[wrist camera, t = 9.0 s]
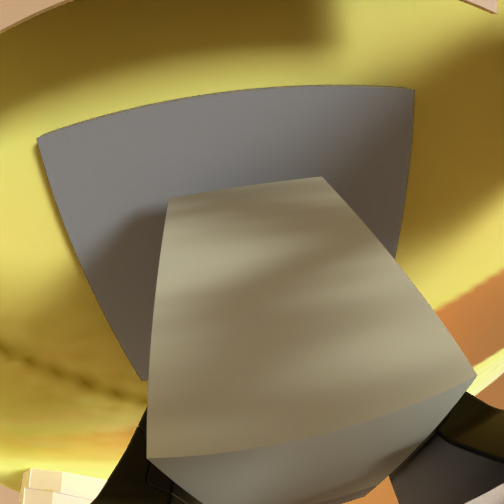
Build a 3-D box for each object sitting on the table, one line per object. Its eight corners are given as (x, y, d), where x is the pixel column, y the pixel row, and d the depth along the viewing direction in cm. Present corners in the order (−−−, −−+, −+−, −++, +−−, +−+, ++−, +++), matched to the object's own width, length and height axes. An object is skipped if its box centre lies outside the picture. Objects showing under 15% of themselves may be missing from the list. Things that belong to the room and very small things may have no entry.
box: (321, 176, 9) (477, 375, 3) (313, 350, 14) (364, 496, 8) (168, 198, 9) (145, 458, 3) (214, 368, 13) (235, 525, 8)
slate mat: (405, 87, 10) (414, 90, 9) (370, 331, 17) (374, 339, 17) (43, 133, 9) (36, 138, 8) (142, 372, 16) (141, 380, 16)
